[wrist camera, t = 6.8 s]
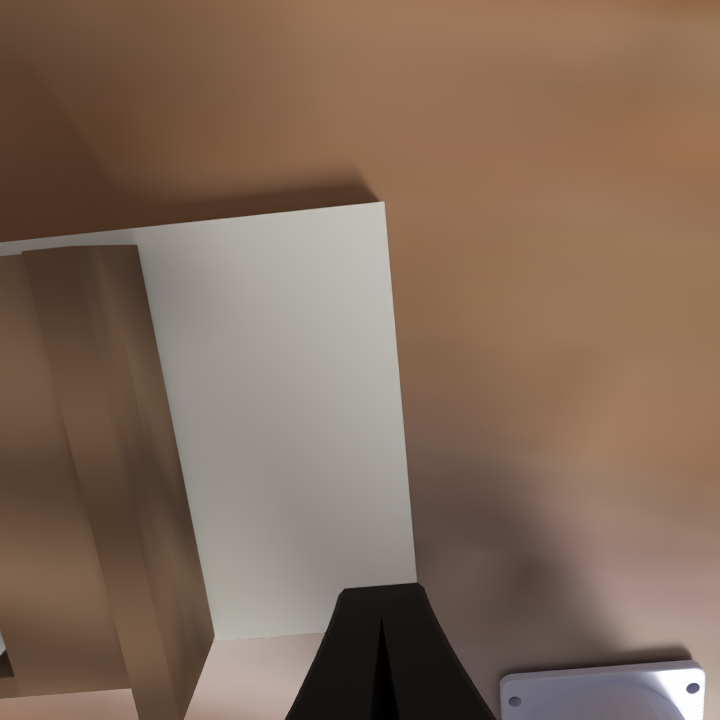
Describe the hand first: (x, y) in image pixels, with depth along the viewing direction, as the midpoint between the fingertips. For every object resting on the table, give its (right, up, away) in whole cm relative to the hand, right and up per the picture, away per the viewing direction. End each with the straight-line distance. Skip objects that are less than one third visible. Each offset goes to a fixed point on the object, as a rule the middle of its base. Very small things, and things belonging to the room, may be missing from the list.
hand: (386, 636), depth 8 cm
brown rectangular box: (-11, +1, +8) cm, 14 cm away
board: (-8, +2, +10) cm, 13 cm away
